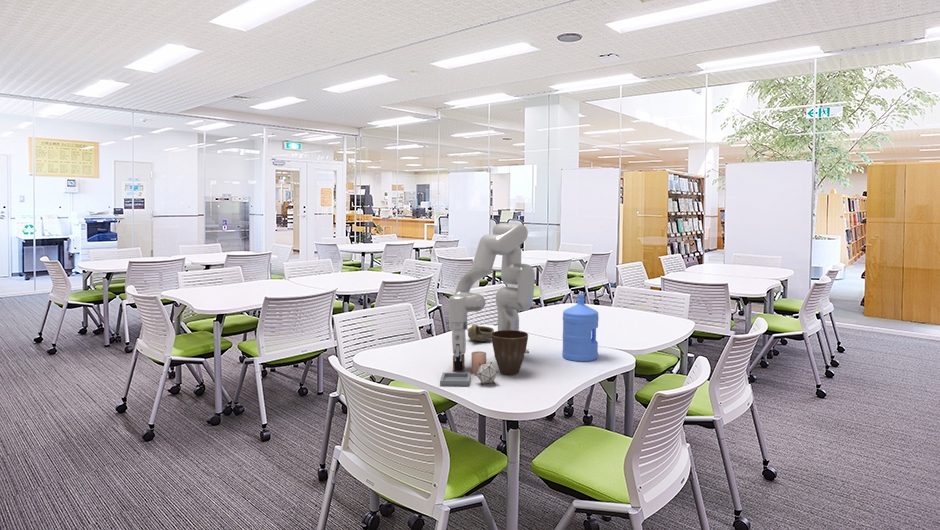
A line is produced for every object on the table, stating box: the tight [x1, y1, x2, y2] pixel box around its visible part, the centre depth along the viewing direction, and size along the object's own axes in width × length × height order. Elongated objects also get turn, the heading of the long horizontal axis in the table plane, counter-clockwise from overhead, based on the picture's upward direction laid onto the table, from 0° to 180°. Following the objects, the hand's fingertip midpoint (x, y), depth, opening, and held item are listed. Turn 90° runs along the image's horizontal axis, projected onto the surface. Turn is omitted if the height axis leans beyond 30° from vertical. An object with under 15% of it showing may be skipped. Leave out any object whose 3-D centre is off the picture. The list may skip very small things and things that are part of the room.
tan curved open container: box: [466, 323, 495, 343], centre depth 283 cm, size 14×18×10 cm
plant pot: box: [491, 330, 529, 376], centre depth 227 cm, size 15×15×16 cm
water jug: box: [561, 294, 599, 362], centre depth 250 cm, size 16×16×28 cm
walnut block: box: [452, 354, 466, 372], centre depth 232 cm, size 4×4×6 cm
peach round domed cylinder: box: [470, 350, 487, 375], centre depth 228 cm, size 6×6×8 cm
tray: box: [439, 372, 472, 387], centre depth 216 cm, size 11×11×2 cm
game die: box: [474, 361, 500, 386], centre depth 213 cm, size 9×8×10 cm
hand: (458, 368), depth 232 cm, fingers closed on walnut block, 4 cm apart
